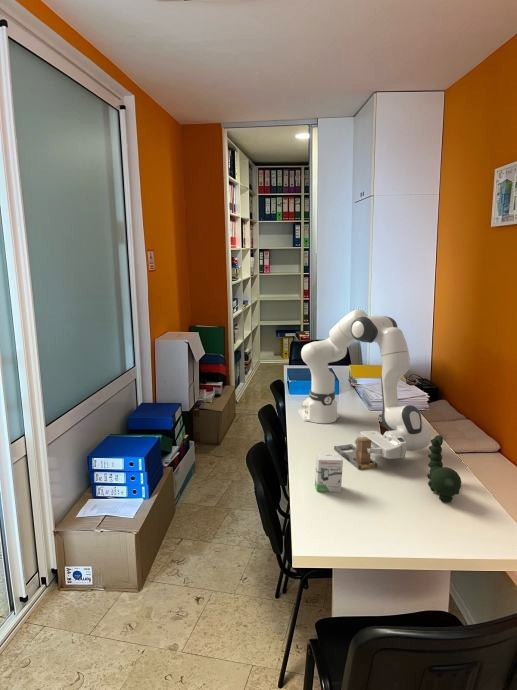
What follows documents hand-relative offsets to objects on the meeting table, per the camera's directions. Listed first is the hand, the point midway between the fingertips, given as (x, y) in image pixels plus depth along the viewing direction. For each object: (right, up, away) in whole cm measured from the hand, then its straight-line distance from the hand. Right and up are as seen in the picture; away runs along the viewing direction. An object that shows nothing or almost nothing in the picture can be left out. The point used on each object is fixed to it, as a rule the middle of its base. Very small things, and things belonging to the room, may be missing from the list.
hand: (361, 446), depth 192 cm
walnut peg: (+1, -7, +2) cm, 7 cm away
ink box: (-15, -11, -18) cm, 26 cm away
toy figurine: (+23, -12, -20) cm, 33 cm away
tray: (-1, -6, +7) cm, 10 cm away
